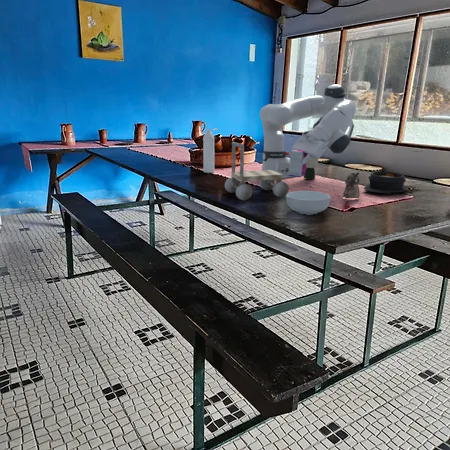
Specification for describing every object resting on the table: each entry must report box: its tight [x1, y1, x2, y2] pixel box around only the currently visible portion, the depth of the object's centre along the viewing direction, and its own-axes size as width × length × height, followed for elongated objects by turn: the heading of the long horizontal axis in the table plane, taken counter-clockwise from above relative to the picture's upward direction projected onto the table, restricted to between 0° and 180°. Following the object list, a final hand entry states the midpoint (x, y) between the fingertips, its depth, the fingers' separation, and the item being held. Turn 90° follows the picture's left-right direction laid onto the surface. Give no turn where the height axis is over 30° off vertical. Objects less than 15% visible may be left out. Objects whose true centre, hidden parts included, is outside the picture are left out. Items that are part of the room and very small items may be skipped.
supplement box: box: [289, 149, 307, 178], centre depth 183 cm, size 6×6×12 cm
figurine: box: [342, 171, 360, 199], centre depth 181 cm, size 7×7×12 cm
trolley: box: [224, 141, 290, 201], centre depth 185 cm, size 25×16×24 cm, turn 110°
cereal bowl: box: [285, 190, 331, 216], centre depth 160 cm, size 17×17×7 cm
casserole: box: [363, 171, 408, 194], centre depth 196 cm, size 25×19×8 cm
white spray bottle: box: [202, 128, 218, 174], centre depth 238 cm, size 9×6×25 cm
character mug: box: [303, 158, 319, 180], centre depth 221 cm, size 11×7×13 cm, turn 122°
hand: (296, 161), depth 182 cm, fingers closed on supplement box, 8 cm apart
